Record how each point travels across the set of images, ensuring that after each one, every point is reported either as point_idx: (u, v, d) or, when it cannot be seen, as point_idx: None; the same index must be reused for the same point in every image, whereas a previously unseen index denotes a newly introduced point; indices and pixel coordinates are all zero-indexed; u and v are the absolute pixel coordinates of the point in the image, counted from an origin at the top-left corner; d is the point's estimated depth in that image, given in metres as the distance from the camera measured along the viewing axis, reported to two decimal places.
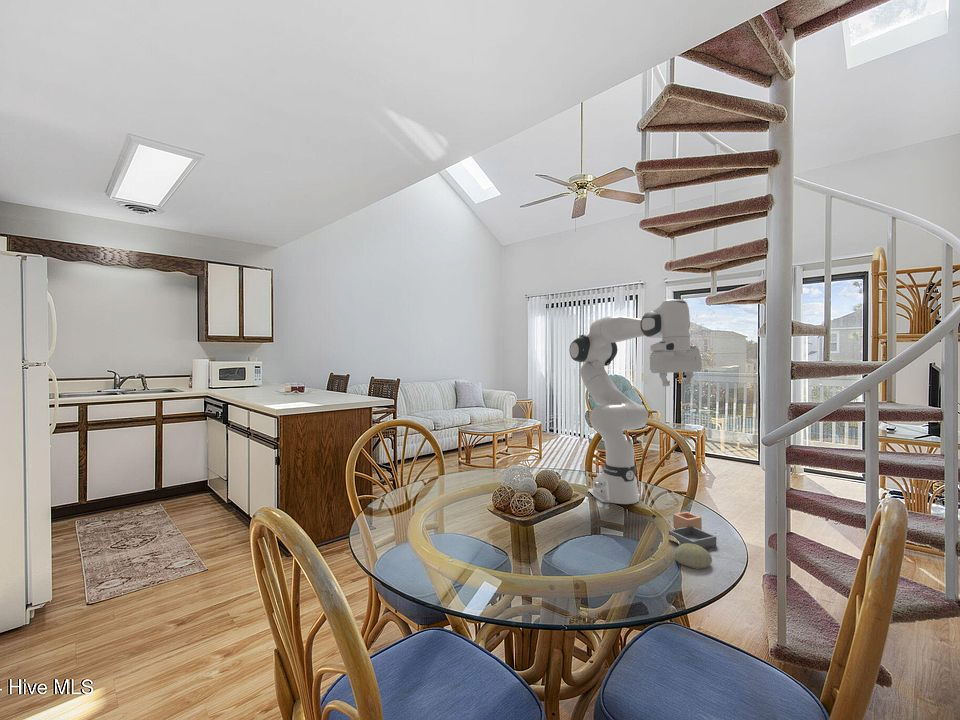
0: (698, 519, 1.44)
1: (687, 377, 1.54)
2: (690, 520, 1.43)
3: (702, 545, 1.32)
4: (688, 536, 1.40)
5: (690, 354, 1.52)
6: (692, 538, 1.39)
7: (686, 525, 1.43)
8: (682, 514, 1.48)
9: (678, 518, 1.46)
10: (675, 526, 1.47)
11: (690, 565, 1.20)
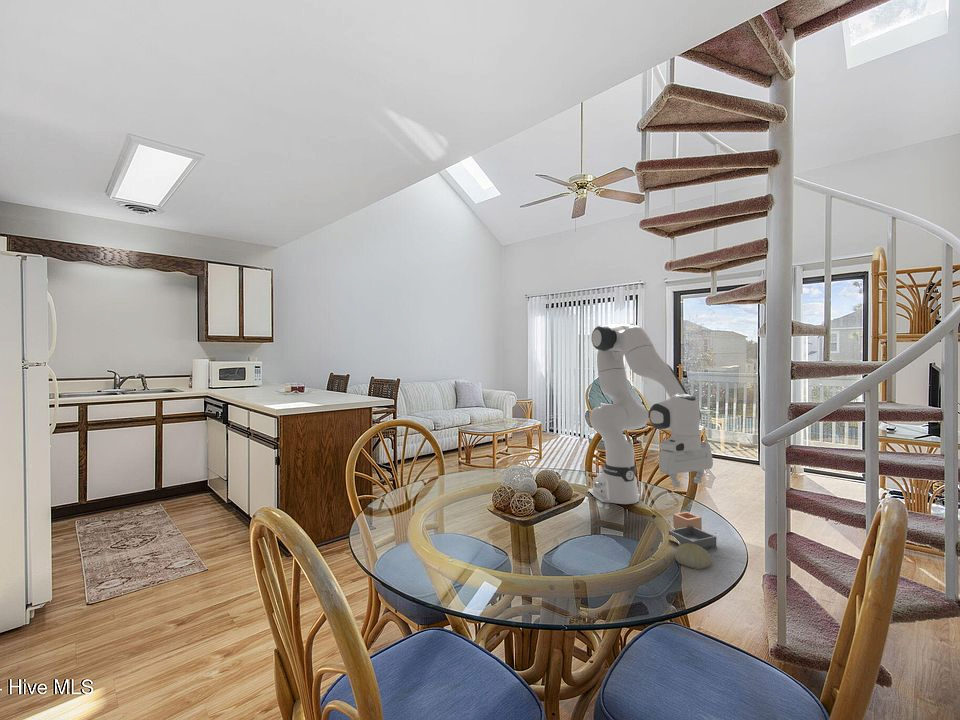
0: (698, 519, 1.44)
1: (698, 474, 1.48)
2: (690, 520, 1.43)
3: (702, 545, 1.32)
4: (688, 536, 1.40)
5: (701, 452, 1.46)
6: (692, 538, 1.39)
7: (686, 525, 1.43)
8: (682, 514, 1.48)
9: (678, 518, 1.46)
10: (675, 526, 1.47)
11: (690, 565, 1.20)
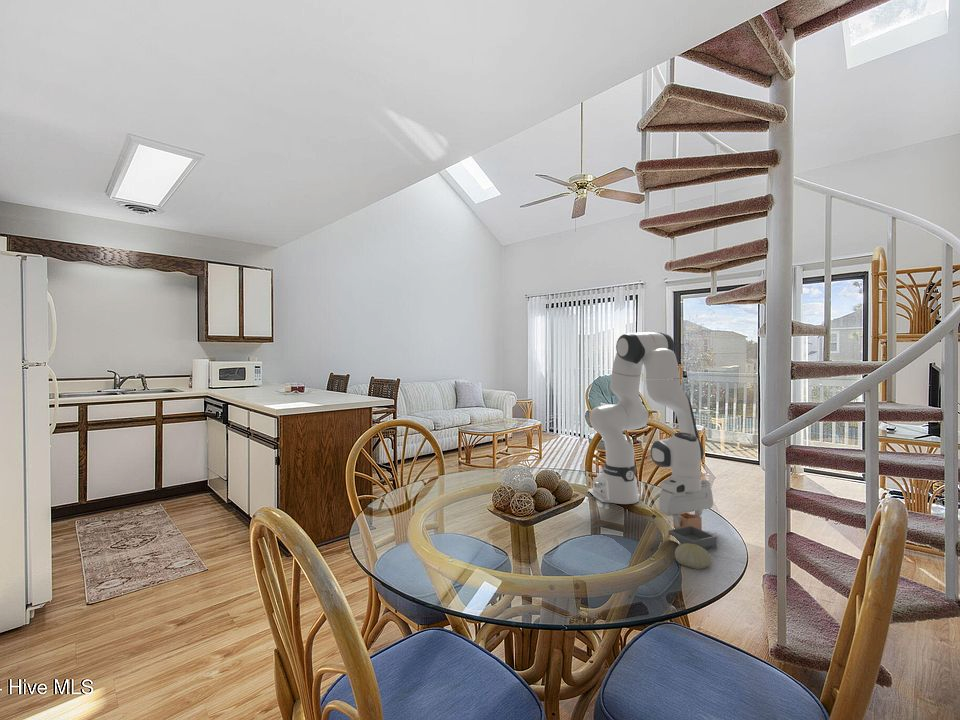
0: (698, 519, 1.44)
1: (695, 514, 1.48)
2: (690, 520, 1.43)
3: (702, 545, 1.32)
4: (688, 536, 1.40)
5: (701, 491, 1.46)
6: (692, 538, 1.39)
7: (686, 525, 1.43)
8: (682, 514, 1.48)
9: None
10: (675, 526, 1.47)
11: (690, 565, 1.20)
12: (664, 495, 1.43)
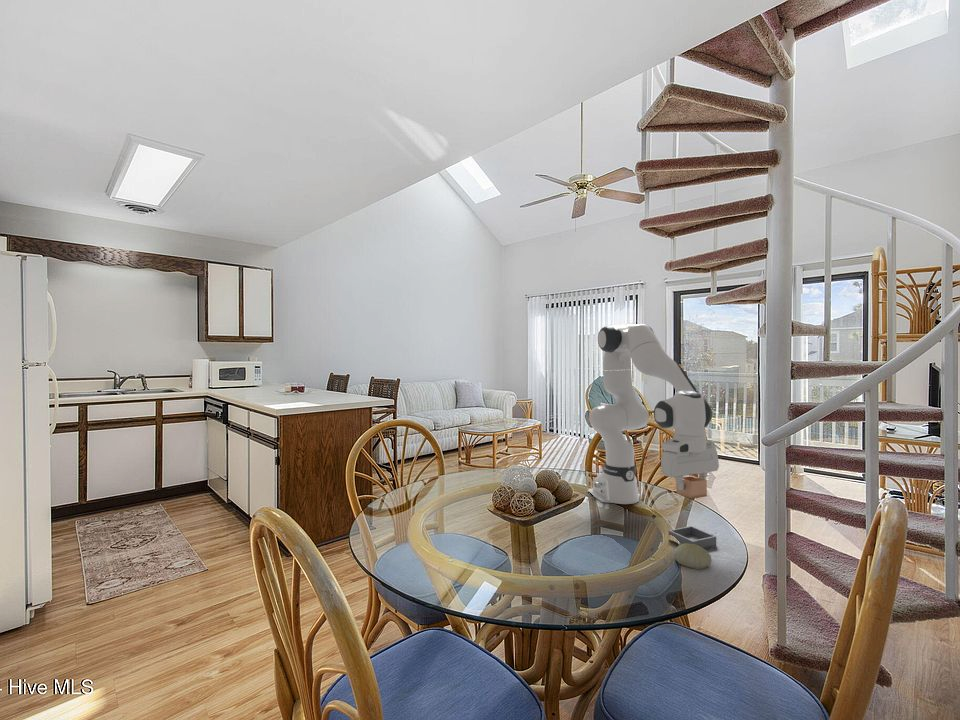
0: (703, 482, 1.34)
1: (700, 477, 1.38)
2: (694, 482, 1.33)
3: (702, 545, 1.32)
4: (688, 536, 1.40)
5: (706, 453, 1.37)
6: (692, 538, 1.39)
7: (690, 488, 1.33)
8: (686, 478, 1.39)
9: None
10: (678, 490, 1.37)
11: (690, 565, 1.20)
12: (666, 456, 1.33)
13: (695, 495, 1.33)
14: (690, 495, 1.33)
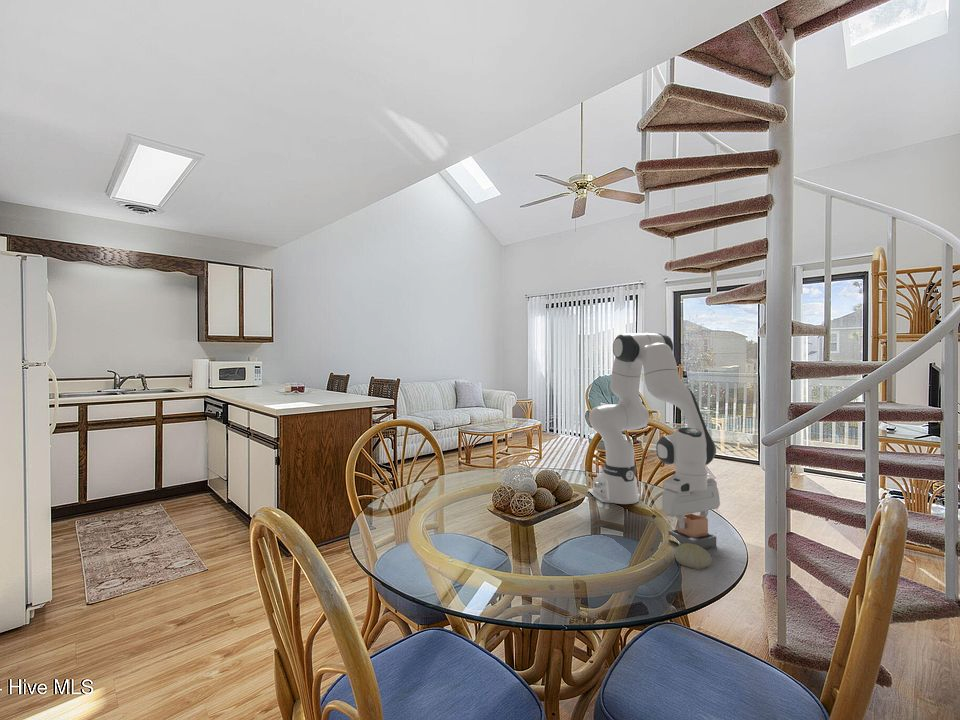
0: (704, 520, 1.34)
1: (701, 515, 1.38)
2: (696, 521, 1.33)
3: (702, 545, 1.32)
4: (688, 536, 1.40)
5: (707, 491, 1.36)
6: (692, 538, 1.39)
7: (691, 527, 1.33)
8: (687, 515, 1.39)
9: None
10: (679, 528, 1.37)
11: (689, 565, 1.20)
12: (667, 495, 1.33)
13: (697, 534, 1.33)
14: (691, 534, 1.33)
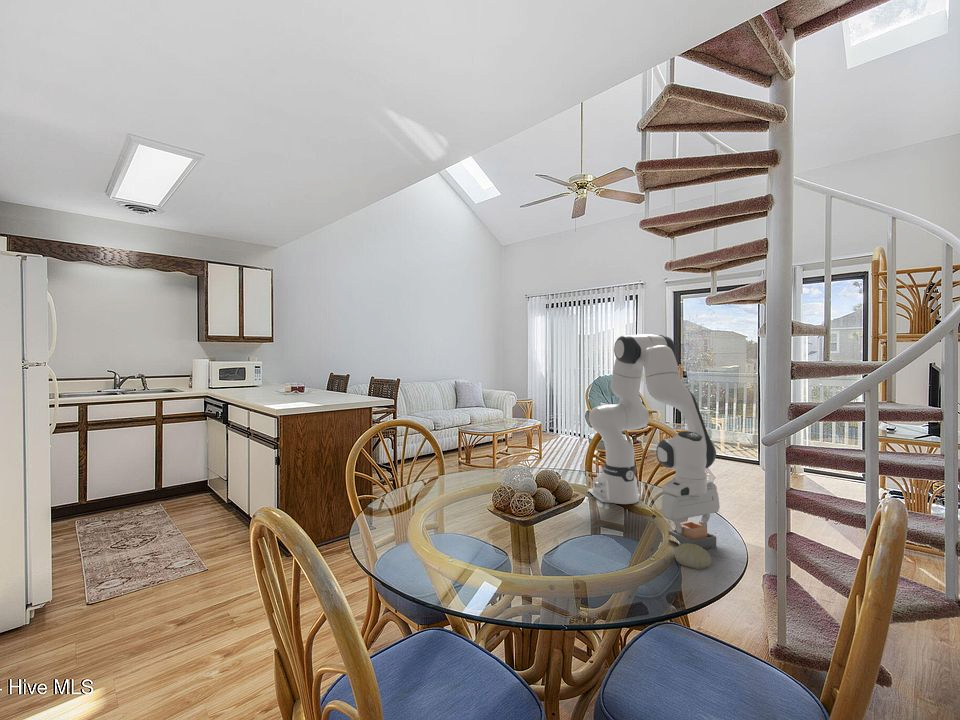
0: (704, 529, 1.34)
1: (703, 518, 1.39)
2: (695, 530, 1.33)
3: (702, 545, 1.32)
4: None
5: (707, 495, 1.37)
6: None
7: (691, 536, 1.33)
8: (686, 523, 1.39)
9: None
10: None
11: (689, 565, 1.20)
12: (667, 498, 1.33)
13: None
14: None
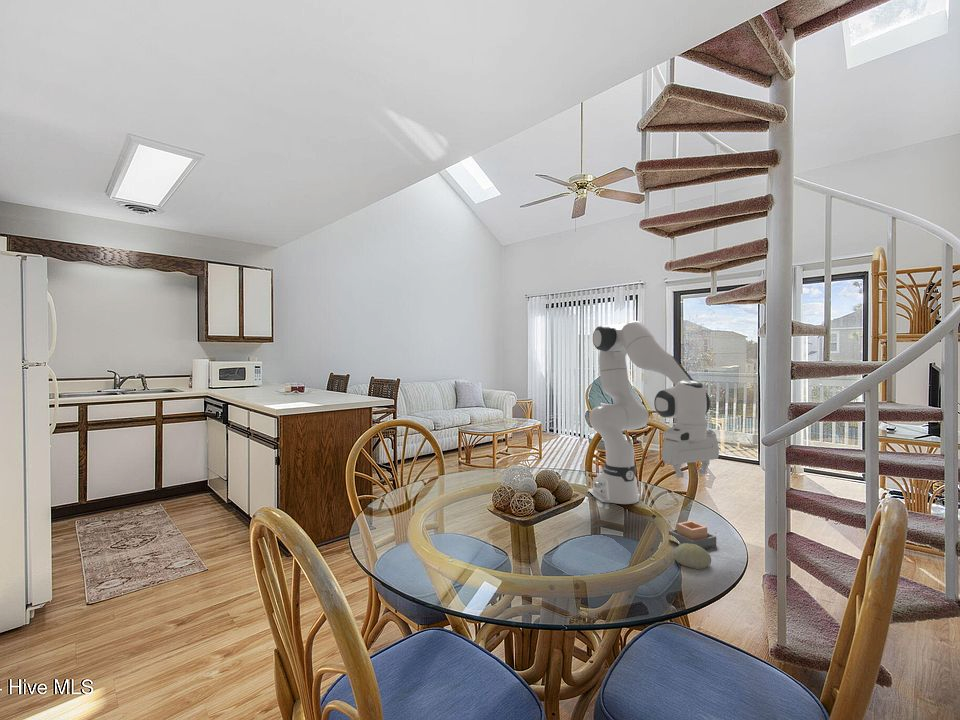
0: (704, 529, 1.34)
1: (702, 465, 1.42)
2: (695, 530, 1.33)
3: (702, 545, 1.32)
4: None
5: (706, 441, 1.39)
6: None
7: (691, 536, 1.33)
8: (686, 523, 1.39)
9: (682, 528, 1.36)
10: None
11: (689, 565, 1.20)
12: (667, 444, 1.36)
13: None
14: None
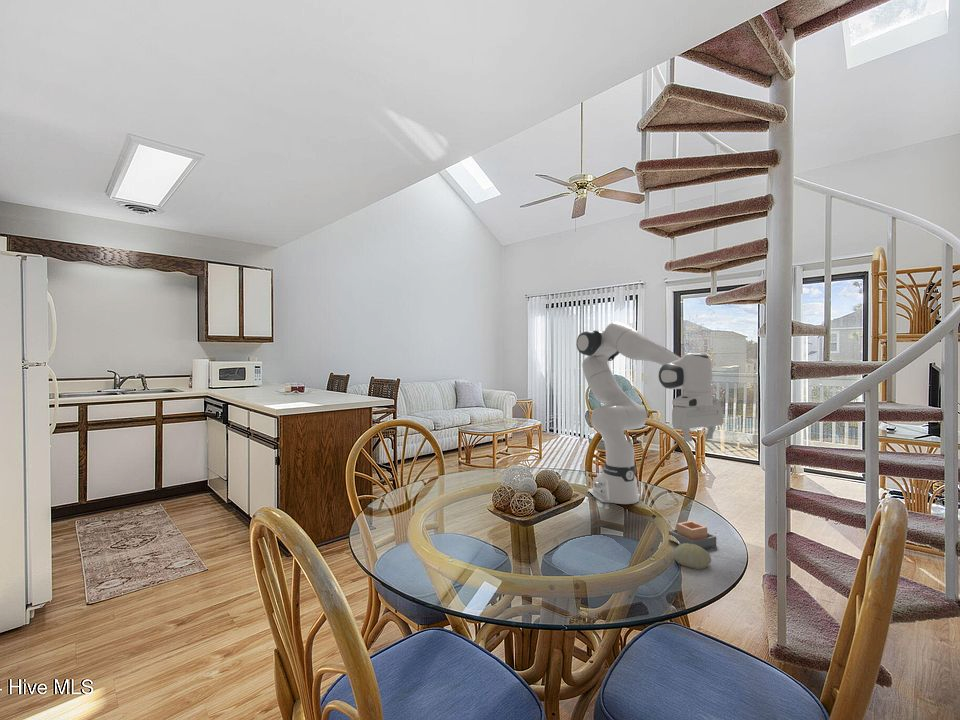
0: (704, 529, 1.34)
1: (709, 431, 1.53)
2: (695, 530, 1.33)
3: (702, 545, 1.32)
4: None
5: (712, 408, 1.51)
6: None
7: (691, 536, 1.33)
8: (686, 523, 1.39)
9: (682, 528, 1.36)
10: None
11: (689, 565, 1.20)
12: (677, 410, 1.48)
13: None
14: None
